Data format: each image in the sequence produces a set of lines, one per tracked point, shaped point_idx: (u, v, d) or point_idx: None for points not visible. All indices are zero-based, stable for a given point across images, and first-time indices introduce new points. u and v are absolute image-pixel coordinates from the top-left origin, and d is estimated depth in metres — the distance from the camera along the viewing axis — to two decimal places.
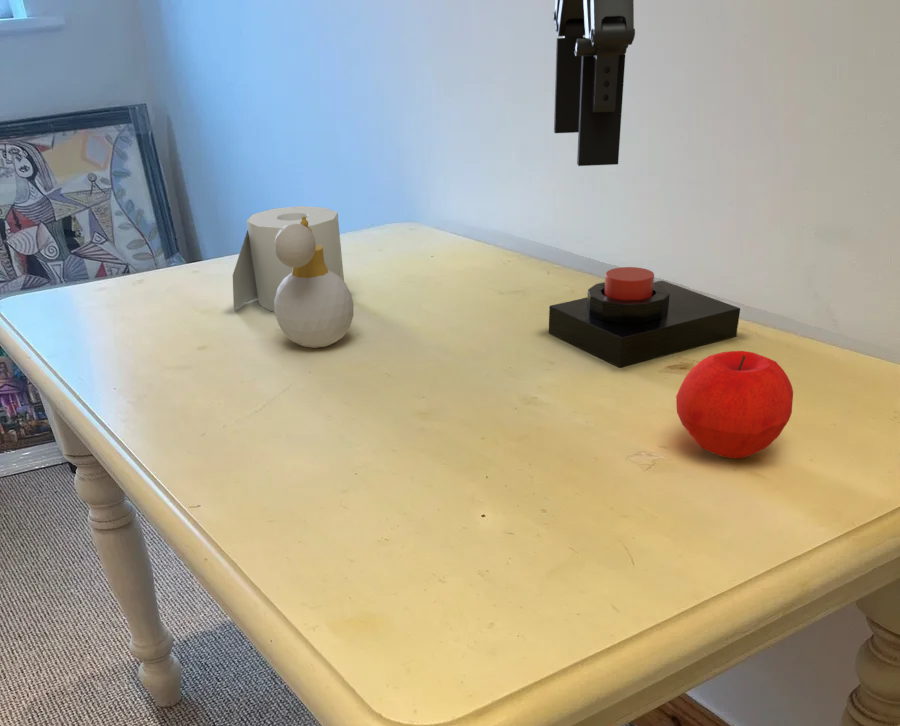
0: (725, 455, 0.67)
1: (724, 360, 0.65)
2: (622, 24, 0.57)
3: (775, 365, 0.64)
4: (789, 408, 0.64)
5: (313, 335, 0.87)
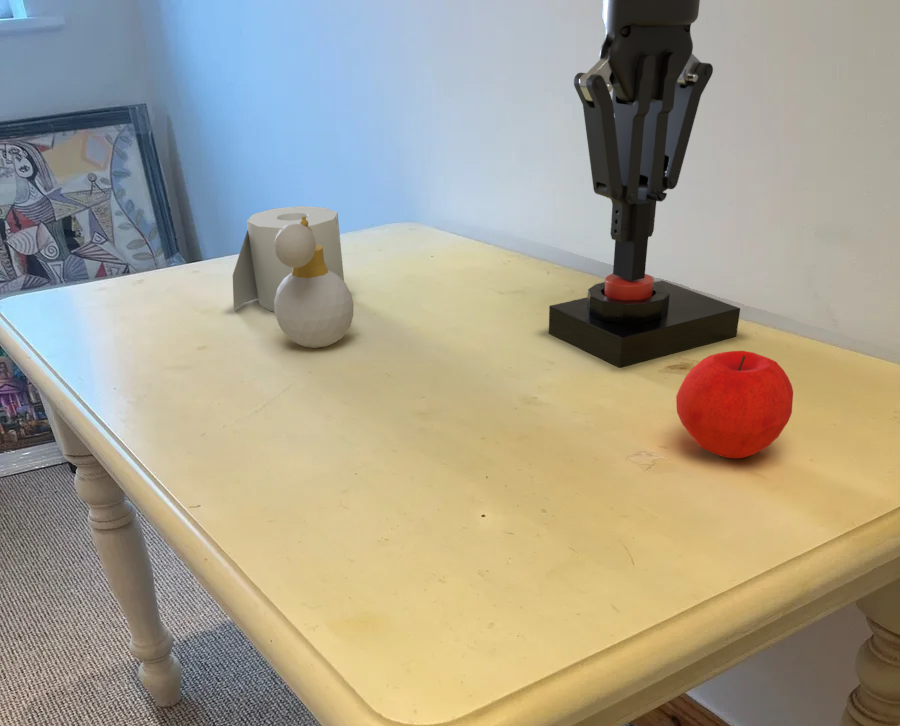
0: (725, 455, 0.67)
1: (724, 360, 0.65)
2: None
3: (775, 365, 0.64)
4: (789, 408, 0.64)
5: (313, 335, 0.87)
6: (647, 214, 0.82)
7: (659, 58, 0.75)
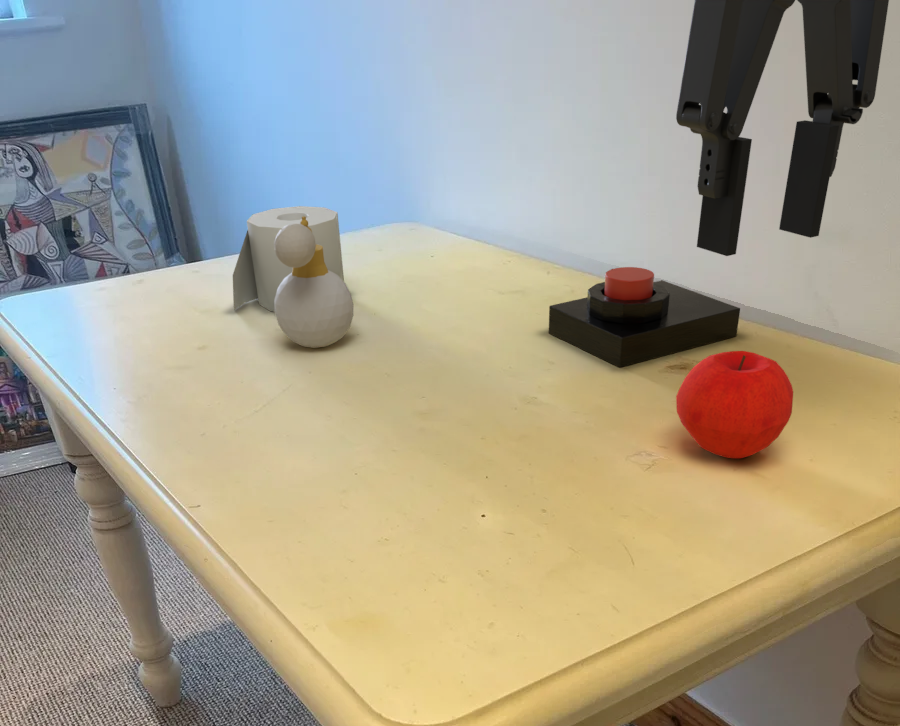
0: (725, 455, 0.67)
1: (724, 360, 0.65)
2: None
3: (775, 365, 0.64)
4: (789, 408, 0.64)
5: (313, 335, 0.87)
6: (832, 143, 0.58)
7: None
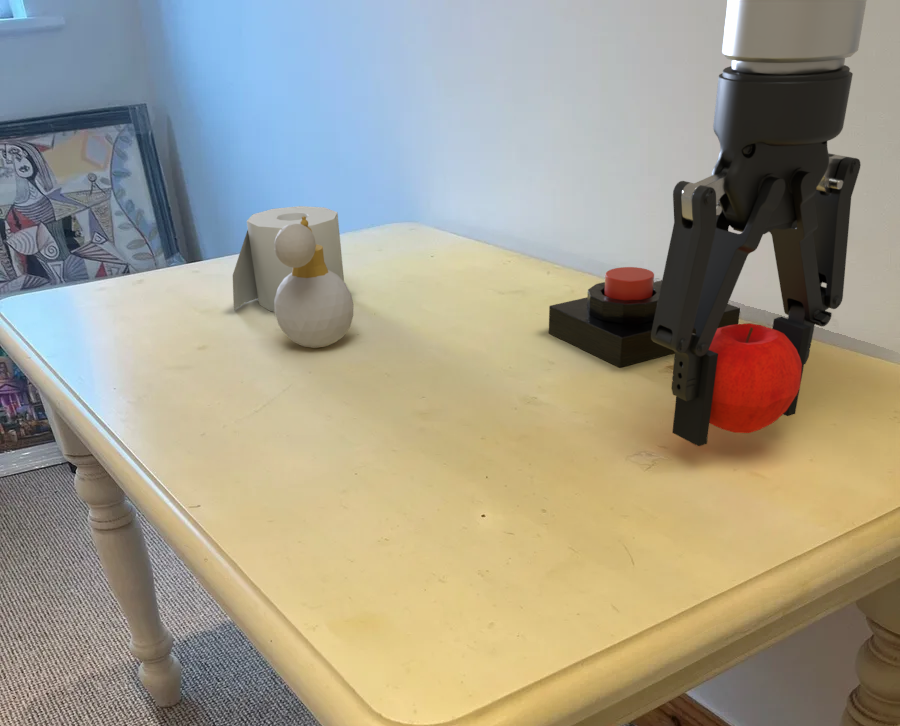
0: (733, 430, 0.66)
1: (731, 333, 0.64)
2: (672, 333, 0.60)
3: (783, 337, 0.63)
4: (798, 381, 0.63)
5: (313, 335, 0.87)
6: (805, 341, 0.65)
7: (787, 185, 0.58)
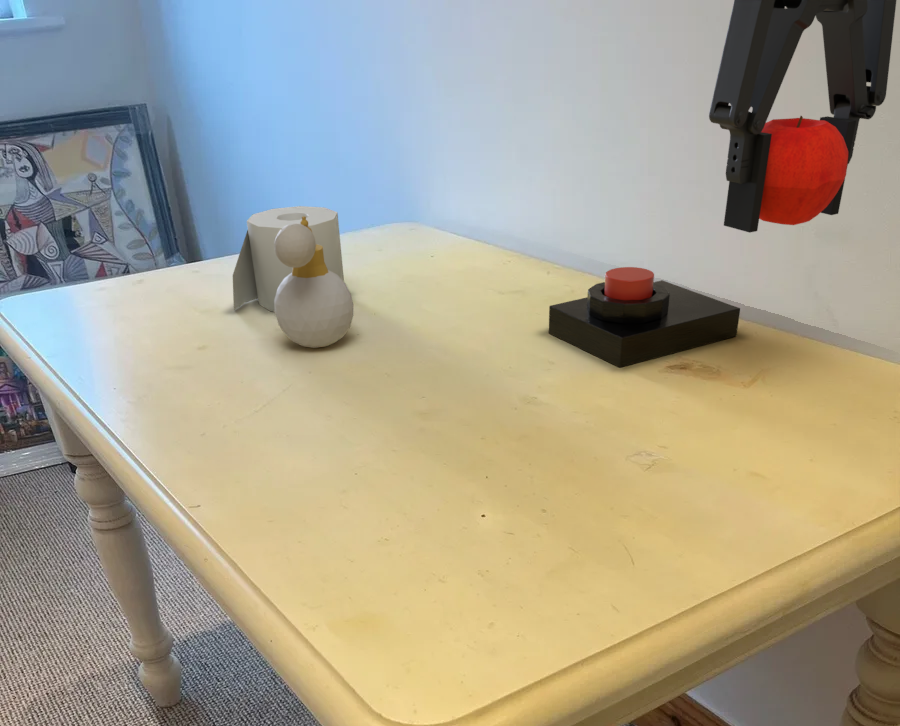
0: (781, 220, 0.70)
1: (781, 123, 0.68)
2: (731, 108, 0.63)
3: (831, 124, 0.67)
4: (845, 166, 0.67)
5: (313, 335, 0.87)
6: (850, 135, 0.69)
7: None
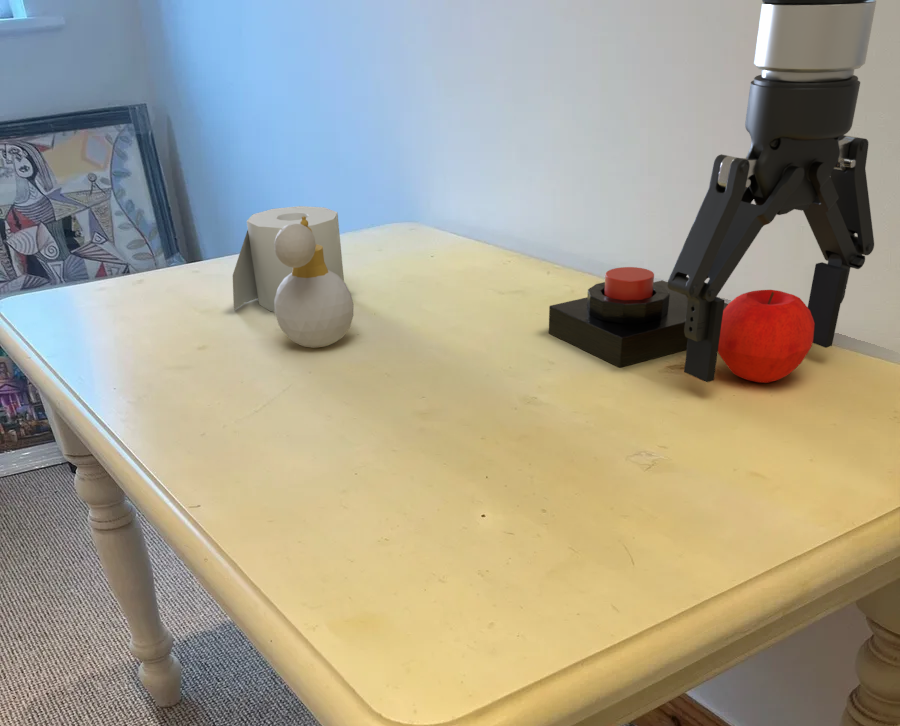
0: (755, 379, 0.78)
1: (755, 297, 0.77)
2: (686, 281, 0.70)
3: (799, 300, 0.76)
4: (811, 337, 0.76)
5: (313, 335, 0.87)
6: (842, 282, 0.78)
7: (805, 176, 0.70)
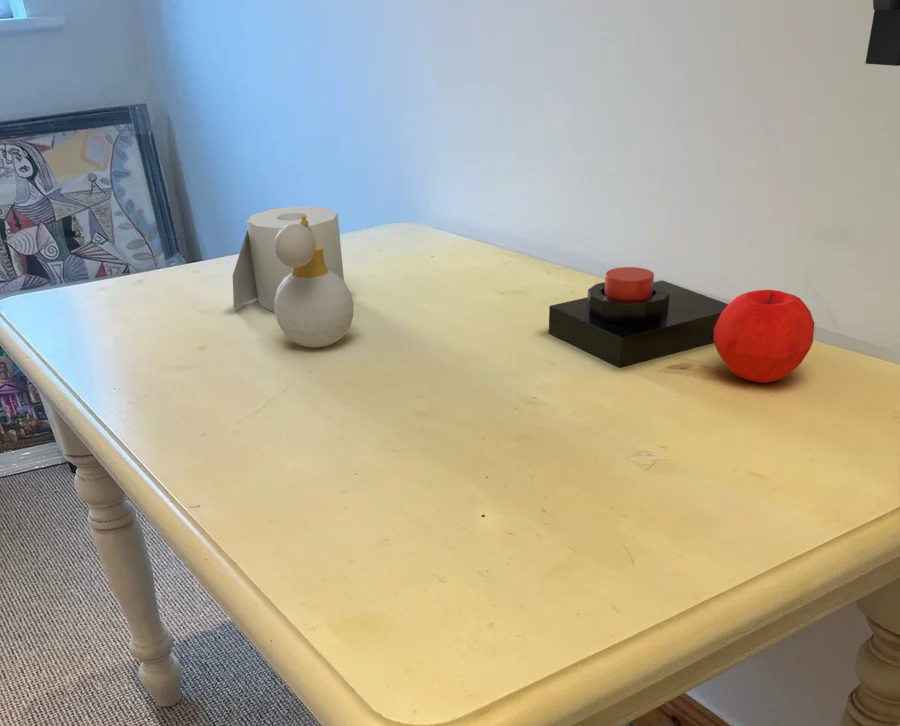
0: (755, 379, 0.78)
1: (755, 297, 0.77)
2: None
3: (799, 300, 0.76)
4: (811, 337, 0.76)
5: (313, 335, 0.87)
6: None
7: None
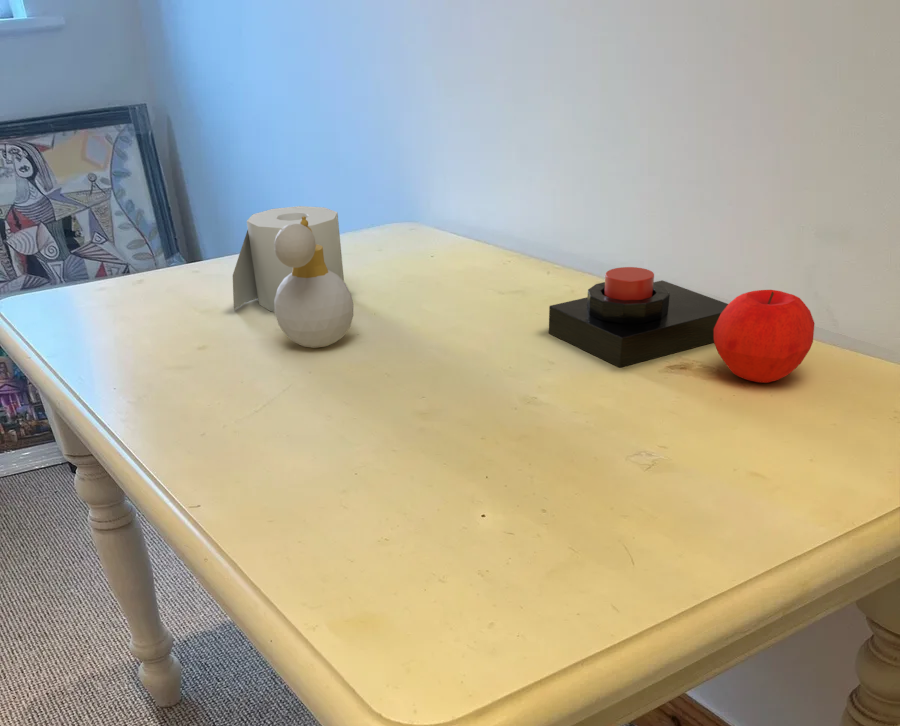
0: (755, 379, 0.78)
1: (755, 297, 0.77)
2: None
3: (799, 300, 0.76)
4: (811, 337, 0.76)
5: (313, 335, 0.87)
6: None
7: None
